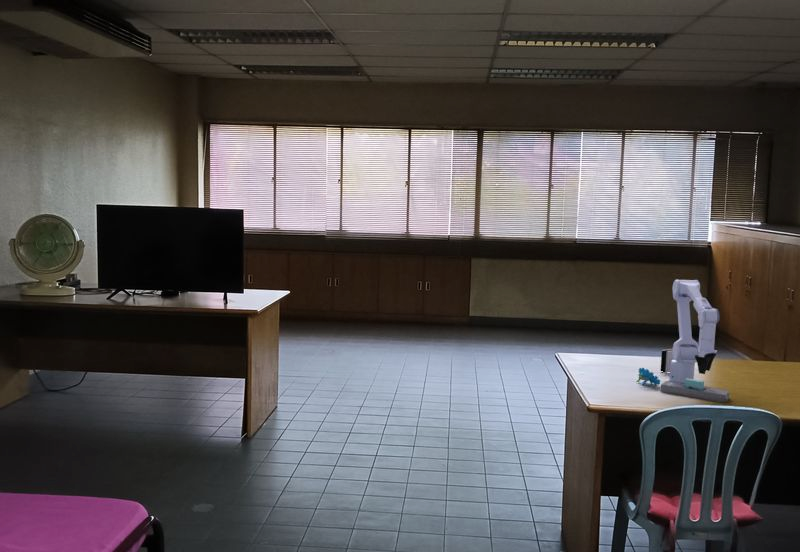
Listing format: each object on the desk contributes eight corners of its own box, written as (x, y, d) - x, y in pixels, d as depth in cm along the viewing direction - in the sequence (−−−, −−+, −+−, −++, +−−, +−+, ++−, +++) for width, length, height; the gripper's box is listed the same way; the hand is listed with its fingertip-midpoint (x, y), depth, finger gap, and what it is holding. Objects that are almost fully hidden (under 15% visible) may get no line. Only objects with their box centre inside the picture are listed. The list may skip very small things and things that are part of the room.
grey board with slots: (660, 391, 277) (661, 384, 276) (666, 387, 283) (666, 380, 283) (724, 402, 262) (725, 395, 262) (729, 398, 269) (729, 391, 269)
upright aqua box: (684, 394, 274) (685, 379, 273) (686, 392, 276) (687, 378, 275) (701, 397, 270) (702, 382, 269) (703, 395, 272) (704, 381, 272)
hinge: (671, 368, 322) (673, 346, 321) (682, 370, 318) (684, 348, 317) (658, 372, 312) (660, 350, 311) (670, 374, 308) (672, 352, 307)
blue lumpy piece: (665, 383, 283) (650, 367, 281) (657, 394, 282) (642, 378, 280) (649, 381, 294) (634, 365, 292) (640, 391, 292) (626, 375, 291)
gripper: (713, 342, 266) (710, 376, 267) (721, 337, 278) (719, 370, 279) (694, 340, 270) (691, 373, 272) (703, 335, 282) (701, 367, 283)
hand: (704, 371), depth 276 cm, fingers open, 7 cm apart
